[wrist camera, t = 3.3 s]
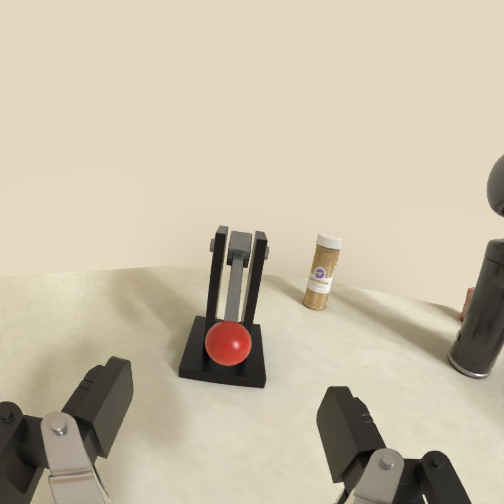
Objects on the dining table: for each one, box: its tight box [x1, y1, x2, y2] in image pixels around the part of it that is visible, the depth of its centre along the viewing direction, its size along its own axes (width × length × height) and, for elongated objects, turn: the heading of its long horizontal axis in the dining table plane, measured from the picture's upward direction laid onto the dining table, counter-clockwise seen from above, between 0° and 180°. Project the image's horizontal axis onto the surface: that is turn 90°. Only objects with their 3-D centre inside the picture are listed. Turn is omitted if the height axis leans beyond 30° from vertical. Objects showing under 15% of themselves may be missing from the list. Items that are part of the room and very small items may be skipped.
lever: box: [205, 231, 252, 366], centre depth 25 cm, size 14×4×4 cm, turn 2°
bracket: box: [179, 226, 269, 388], centre depth 30 cm, size 12×9×15 cm
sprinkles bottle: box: [303, 233, 343, 310], centre depth 49 cm, size 5×5×14 cm
